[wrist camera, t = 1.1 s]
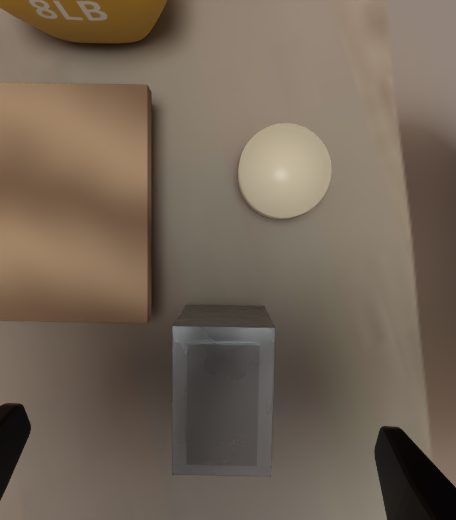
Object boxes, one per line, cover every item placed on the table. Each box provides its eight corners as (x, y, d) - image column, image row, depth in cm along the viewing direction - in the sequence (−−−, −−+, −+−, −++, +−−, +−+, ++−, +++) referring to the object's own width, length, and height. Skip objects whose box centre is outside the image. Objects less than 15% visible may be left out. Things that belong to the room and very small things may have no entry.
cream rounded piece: (318, 220, 20) (329, 218, 18) (237, 218, 20) (237, 216, 18) (321, 136, 20) (333, 123, 18) (238, 135, 20) (239, 122, 18)
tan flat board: (157, 312, 20) (147, 323, 18) (-11, 309, 20) (-45, 320, 18) (157, 104, 20) (147, 84, 17) (-18, 101, 20) (-54, 82, 17)
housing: (261, 419, 21) (271, 481, 16) (185, 417, 21) (170, 479, 16) (264, 305, 20) (275, 329, 15) (186, 304, 21) (171, 328, 15)
